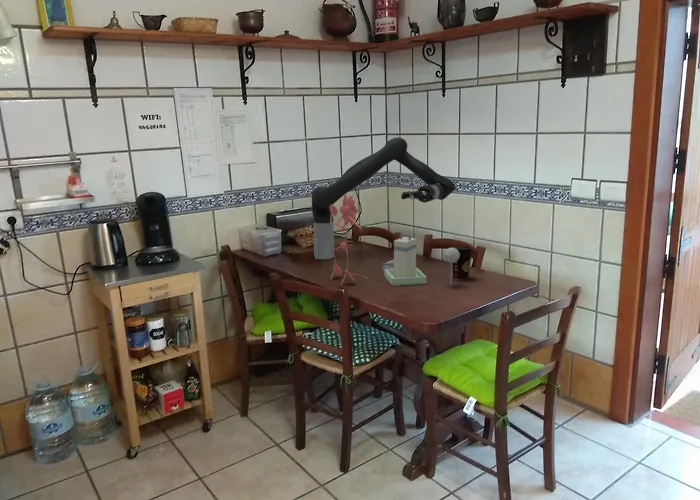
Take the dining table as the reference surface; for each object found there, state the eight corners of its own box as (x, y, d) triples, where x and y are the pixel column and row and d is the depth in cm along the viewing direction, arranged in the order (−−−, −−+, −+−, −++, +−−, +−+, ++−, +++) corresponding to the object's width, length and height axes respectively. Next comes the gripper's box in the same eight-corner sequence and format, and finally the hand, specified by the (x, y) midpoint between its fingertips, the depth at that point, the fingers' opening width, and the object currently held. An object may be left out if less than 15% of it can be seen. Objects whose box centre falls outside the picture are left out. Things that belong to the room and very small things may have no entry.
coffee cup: (472, 276, 226) (474, 245, 223) (470, 282, 218) (471, 250, 215) (451, 274, 228) (452, 244, 225) (448, 280, 221) (449, 249, 218)
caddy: (405, 281, 217) (406, 237, 213) (393, 279, 220) (393, 235, 216) (415, 276, 223) (416, 233, 219) (404, 274, 227) (404, 232, 222)
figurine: (349, 291, 209) (350, 199, 201) (319, 275, 231) (319, 192, 223) (383, 285, 216) (385, 197, 208) (351, 270, 238) (351, 190, 230)
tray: (392, 286, 214) (392, 278, 213) (384, 276, 228) (384, 269, 227) (426, 284, 216) (426, 276, 215) (416, 274, 230) (417, 267, 229)
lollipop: (449, 288, 211) (450, 250, 207) (439, 284, 216) (440, 247, 212) (461, 285, 213) (463, 248, 210) (452, 281, 218) (453, 245, 215)
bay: (400, 274, 230) (400, 266, 229) (382, 270, 236) (382, 263, 235) (412, 268, 238) (412, 261, 237) (394, 265, 244) (394, 258, 243)
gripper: (414, 184, 256) (396, 188, 243) (442, 186, 247) (425, 190, 235) (414, 200, 257) (396, 204, 245) (442, 202, 249) (424, 207, 237)
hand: (410, 197), depth 240 cm, fingers open, 8 cm apart
